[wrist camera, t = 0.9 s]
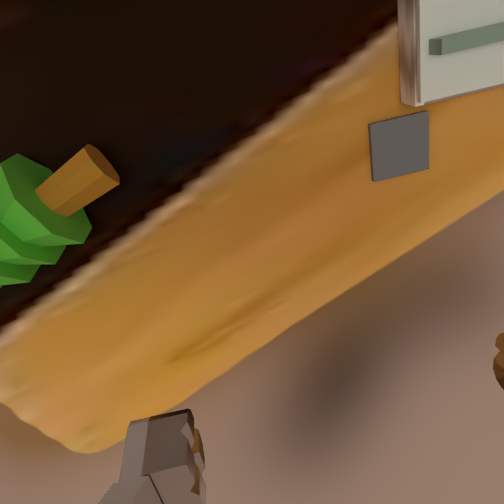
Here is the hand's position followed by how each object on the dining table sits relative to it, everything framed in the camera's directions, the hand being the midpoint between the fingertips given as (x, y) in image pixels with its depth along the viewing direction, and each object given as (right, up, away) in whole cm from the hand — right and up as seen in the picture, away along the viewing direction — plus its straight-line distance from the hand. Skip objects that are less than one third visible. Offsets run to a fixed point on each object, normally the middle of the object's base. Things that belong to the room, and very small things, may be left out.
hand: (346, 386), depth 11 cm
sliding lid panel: (+21, +26, +31) cm, 46 cm away
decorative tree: (-31, +7, +37) cm, 49 cm away
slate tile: (+15, +16, +39) cm, 45 cm away
